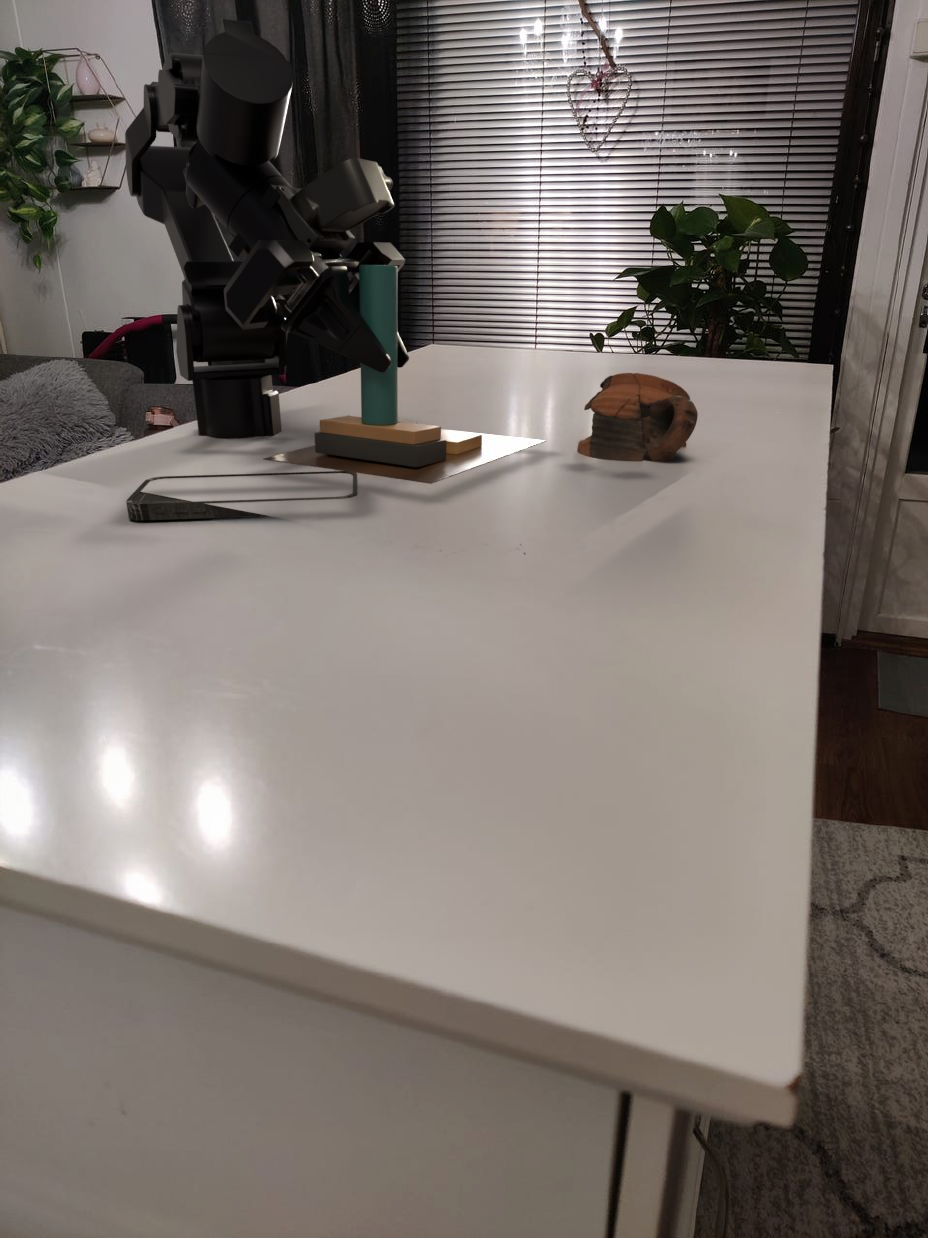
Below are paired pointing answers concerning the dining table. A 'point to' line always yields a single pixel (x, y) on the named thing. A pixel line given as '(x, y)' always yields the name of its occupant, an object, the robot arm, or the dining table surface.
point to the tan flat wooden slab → (460, 441)
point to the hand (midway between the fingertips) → (396, 365)
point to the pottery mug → (638, 419)
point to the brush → (380, 392)
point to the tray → (431, 473)
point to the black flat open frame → (173, 508)
